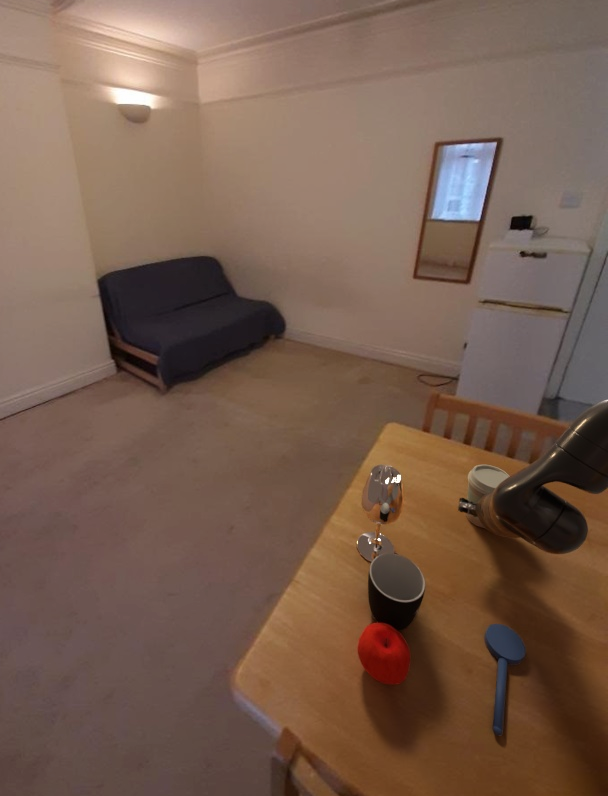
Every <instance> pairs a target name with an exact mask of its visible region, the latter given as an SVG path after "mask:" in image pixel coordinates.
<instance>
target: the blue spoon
mask: <svg viewBox="0 0 608 796" xmlns="http://www.w3.org/2000/svg"><path fill="white" fill-rule="evenodd" d="M483 637H484V643H485V646H486V648H487V650H488V651H489V653H490V654H491V655H492V656H493V657H494V658H495V659H497V660H498V662H497V673H496V685H495V695H494V707H493V708H494V709H493V718H492V731H493V733H494V734H495V735H496V736H497V737H499V736H500V737H501V736H503V732H504V721H505V720H504V718H505V705H506V703H505V702H506V690H507V689H506V688H507V675H508V674H507V673H508V665H509V666H517V665H520V664H521V663H522V662H523V660H524V658H525V656H526V653H527V652H526V646H525V643H524V641H523V639H522V638H521V636H520V635H519V634H518V633H517V632H516V631H515V630H513V628H510V627H509V626H507V625H505V624H502V623H492V624H490V625H488V626H487V628H486V631H485V633H484V636H483Z"/></svg>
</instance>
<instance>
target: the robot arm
mask: <svg viewBox="0 0 608 796" xmlns="http://www.w3.org/2000/svg"><path fill="white" fill-rule="evenodd" d="M509 476H510V477H508V478H507V479H505V480H504V481H503V482H501V483H500V484H499V485H498V486H497V487H496V488H495V490H494V492H490V493H487V494H485V495H484V496H482V497H481V499H480V500H479V501H478V502H472V501H470V500H467V498H464V497H459V498H458V499H459V501H458V507H457V511H459V512H460V513H464V514H466V513H467V514H470V515H473V516H474V517H478V518H479V520H480V522H481V523H482V525H483V526H484V527H485V528H484V529H486V530H487V531H488V532H490V533H491V534H494V535H496V536H499V537H503V538H510V539H522V540H524V541H526V542H527V543H529V544H531V546H534V547H536V548H537V549H538V550H541V551H543V552H545V553H547V554H550V555H566V554H570V553H572V552H575V551H576V550H577V549H579V548H580V547H581V546H582V545H584V543H585V541H586V539H587V537H588V533H589V526H588V523H587V522H588V521H587V519H586V517H585V516H584V514H583V512H582V511H581V510H579V508H578V507H576V506H575V505H573V504H572V503H570V502H569V501H568V500H566V499H564V498H563V497H561V496H560V495H558V494H557V493H555V492H554V491H552V490H551V489H549V488H548V487H546V486H544V485H547V484H551V483H561V484H565V485H568V486H571V487H573V488H575V489H578V490H579V491H582V492H585V493H588V494H592V495H599V494H602V493H603V492H605V491H606V490H607V489H608V398H607V399H604V400H602V401H600V402H598V403H596V404H594V405H592V406H590V407H589V408H587V409H585V410H584V411H583V412H581V413H580V414H579V415H578V416H577V417H576V418H575V419H574V420H573V421H572V423H570V425H569V426H568V427H567V428H566V429H565V430H564V432H563V433H562V434H561V435H560V437H558V439H557V440H556V441H555V442H554V443H553V444H552V446H550V447H549V448H548V449H547V451H546V452H544V453H543V454H541V456H540V457H538V458H537V459H536V460H534V461H533V462H532V463H530V464H529V465H527V466H525V467H524V468H522V469H520V470H518V471H517V472H515V473H514V474H512V475H509Z"/></svg>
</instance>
